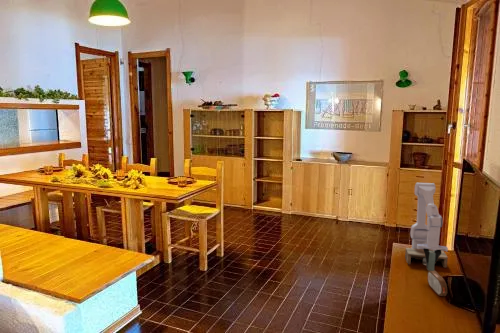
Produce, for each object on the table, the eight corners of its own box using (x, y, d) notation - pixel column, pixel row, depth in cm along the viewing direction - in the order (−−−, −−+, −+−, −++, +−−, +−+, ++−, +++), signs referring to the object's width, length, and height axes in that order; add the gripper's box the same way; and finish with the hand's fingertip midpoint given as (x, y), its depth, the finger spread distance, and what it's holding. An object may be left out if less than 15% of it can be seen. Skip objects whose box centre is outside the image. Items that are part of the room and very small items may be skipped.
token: (421, 262, 209) (421, 260, 209) (428, 263, 208) (429, 261, 208) (422, 265, 206) (422, 264, 205) (430, 266, 205) (430, 264, 204)
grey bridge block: (405, 257, 216) (405, 247, 214) (442, 260, 211) (443, 250, 210) (407, 264, 207) (408, 253, 206) (446, 267, 202) (447, 257, 201)
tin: (447, 299, 171) (448, 282, 169) (440, 299, 171) (441, 282, 169) (432, 283, 186) (433, 267, 184) (425, 283, 186) (427, 267, 184)
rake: (422, 261, 206) (424, 244, 205) (430, 262, 205) (431, 245, 204) (426, 270, 196) (428, 252, 194) (435, 271, 195) (436, 253, 193)
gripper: (419, 239, 192) (417, 264, 194) (450, 242, 188) (447, 267, 191) (417, 235, 198) (415, 258, 201) (446, 237, 195) (444, 261, 197)
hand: (430, 262), depth 196 cm, fingers closed on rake, 3 cm apart
